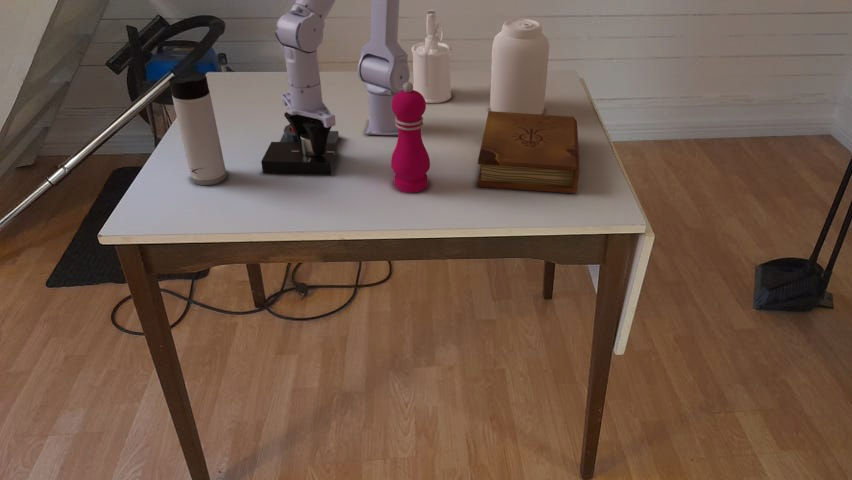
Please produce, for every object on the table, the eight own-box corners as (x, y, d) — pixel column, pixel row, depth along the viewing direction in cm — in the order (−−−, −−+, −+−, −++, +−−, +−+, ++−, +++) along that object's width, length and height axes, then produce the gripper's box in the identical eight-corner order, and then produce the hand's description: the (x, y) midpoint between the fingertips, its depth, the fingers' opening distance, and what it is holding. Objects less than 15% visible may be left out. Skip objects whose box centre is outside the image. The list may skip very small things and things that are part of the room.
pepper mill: (415, 198, 129) (412, 93, 117) (384, 187, 132) (378, 84, 120) (437, 182, 134) (437, 80, 122) (407, 172, 137) (403, 72, 125)
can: (553, 108, 164) (561, 21, 153) (527, 126, 156) (533, 35, 144) (507, 96, 170) (511, 11, 158) (479, 113, 161) (482, 24, 149)
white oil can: (418, 86, 173) (416, 2, 161) (455, 90, 171) (456, 6, 160) (406, 103, 164) (403, 15, 153) (445, 107, 163) (445, 19, 151)
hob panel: (338, 154, 142) (337, 142, 140) (332, 175, 135) (330, 162, 134) (273, 153, 142) (271, 140, 140) (263, 173, 135) (261, 160, 133)
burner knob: (321, 156, 135) (319, 138, 133) (300, 156, 135) (298, 137, 133) (325, 147, 139) (323, 129, 136) (304, 147, 139) (302, 128, 136)
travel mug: (195, 189, 129) (170, 84, 117) (189, 173, 134) (164, 71, 122) (230, 182, 132) (209, 78, 120) (223, 167, 136) (202, 66, 125)
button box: (339, 137, 149) (337, 122, 147) (333, 152, 143) (332, 136, 141) (286, 136, 148) (284, 120, 146) (279, 151, 143) (276, 135, 141)
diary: (576, 194, 132) (580, 166, 129) (477, 187, 133) (478, 159, 130) (574, 141, 151) (577, 115, 147) (487, 135, 152) (488, 110, 148)
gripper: (263, 76, 130) (273, 143, 138) (309, 99, 122) (317, 169, 130) (296, 67, 135) (304, 133, 143) (342, 89, 127) (348, 157, 135)
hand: (312, 149), depth 137 cm, fingers closed on burner knob, 4 cm apart
